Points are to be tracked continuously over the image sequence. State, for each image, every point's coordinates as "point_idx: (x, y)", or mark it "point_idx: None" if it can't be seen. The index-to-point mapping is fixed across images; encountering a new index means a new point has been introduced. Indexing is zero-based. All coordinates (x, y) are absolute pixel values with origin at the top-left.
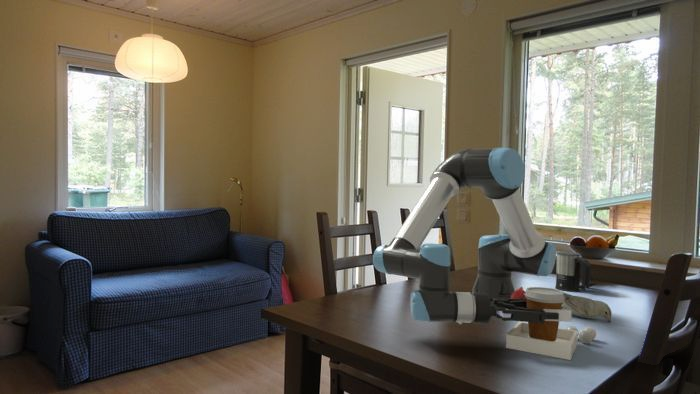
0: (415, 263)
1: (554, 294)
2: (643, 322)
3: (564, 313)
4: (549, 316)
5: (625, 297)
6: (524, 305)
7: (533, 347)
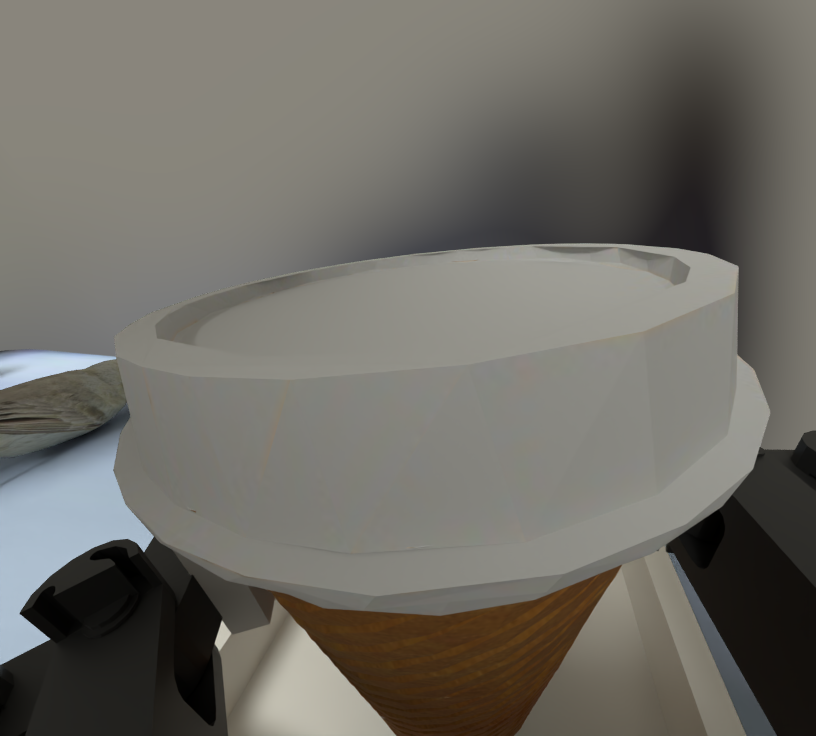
0: None
1: (572, 244)
2: None
3: None
4: None
5: (13, 369)
6: (193, 711)
7: None
